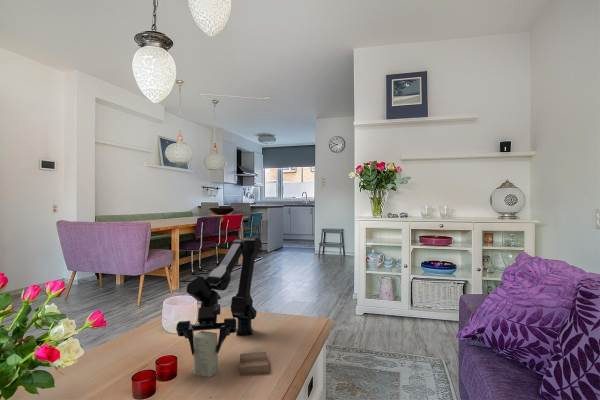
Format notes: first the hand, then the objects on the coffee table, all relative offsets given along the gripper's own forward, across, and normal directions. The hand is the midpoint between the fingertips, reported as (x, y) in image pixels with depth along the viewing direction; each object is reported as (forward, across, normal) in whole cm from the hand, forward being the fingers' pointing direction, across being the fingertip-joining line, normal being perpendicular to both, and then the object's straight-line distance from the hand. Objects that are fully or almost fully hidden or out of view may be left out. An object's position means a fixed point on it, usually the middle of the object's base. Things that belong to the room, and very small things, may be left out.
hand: (205, 353), depth 100 cm
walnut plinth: (+3, +15, +6) cm, 17 cm away
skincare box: (+4, 0, +6) cm, 7 cm away
